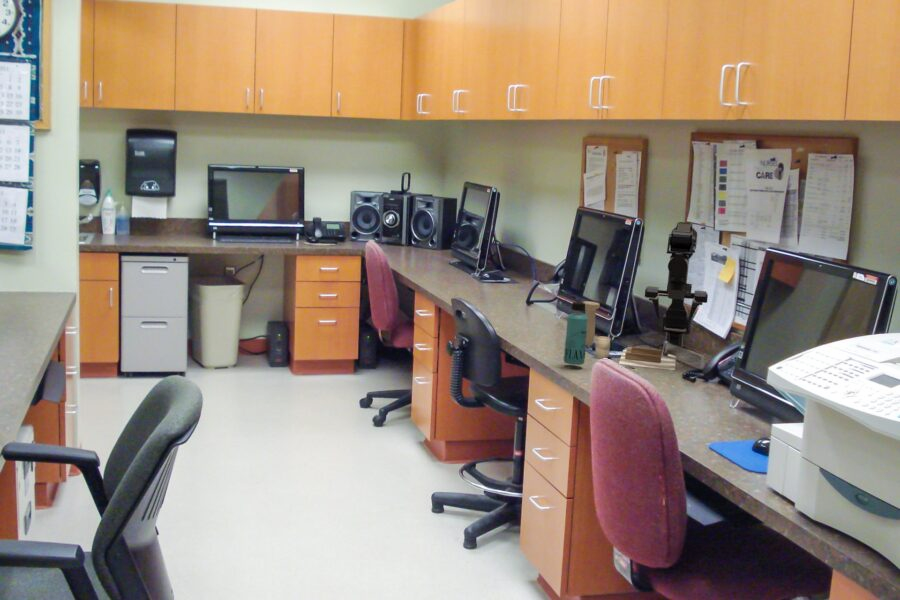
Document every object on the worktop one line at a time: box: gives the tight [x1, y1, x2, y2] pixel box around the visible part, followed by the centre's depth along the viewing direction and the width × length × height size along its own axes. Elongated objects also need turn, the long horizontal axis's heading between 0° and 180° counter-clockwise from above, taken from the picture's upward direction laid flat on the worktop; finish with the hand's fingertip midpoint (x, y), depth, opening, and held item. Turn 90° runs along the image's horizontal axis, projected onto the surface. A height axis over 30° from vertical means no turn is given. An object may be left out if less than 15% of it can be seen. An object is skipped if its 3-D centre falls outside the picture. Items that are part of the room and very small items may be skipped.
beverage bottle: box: [563, 301, 588, 366], centre depth 296 cm, size 6×7×20 cm
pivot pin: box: [594, 335, 611, 360], centre depth 312 cm, size 4×4×6 cm
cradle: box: [618, 345, 677, 371], centre depth 309 cm, size 22×17×3 cm
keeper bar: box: [662, 340, 705, 367], centre depth 307 cm, size 21×2×4 cm, turn 21°
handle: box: [582, 300, 601, 349], centre depth 326 cm, size 5×6×15 cm
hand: (673, 321), depth 302 cm, fingers open, 9 cm apart
